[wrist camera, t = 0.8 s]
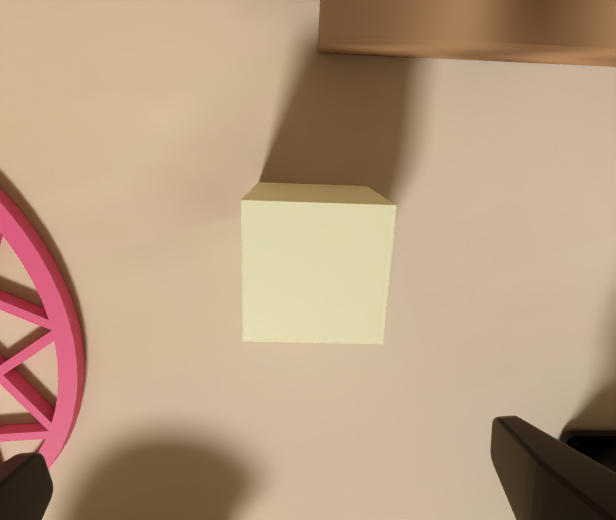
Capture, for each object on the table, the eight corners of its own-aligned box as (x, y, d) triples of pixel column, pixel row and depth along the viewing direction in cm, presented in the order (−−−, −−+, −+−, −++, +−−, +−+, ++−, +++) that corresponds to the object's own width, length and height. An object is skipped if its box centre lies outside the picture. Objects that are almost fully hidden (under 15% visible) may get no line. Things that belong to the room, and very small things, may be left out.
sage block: (366, 185, 19) (396, 205, 13) (358, 286, 20) (382, 344, 14) (258, 181, 18) (241, 200, 13) (258, 283, 20) (242, 341, 14)
